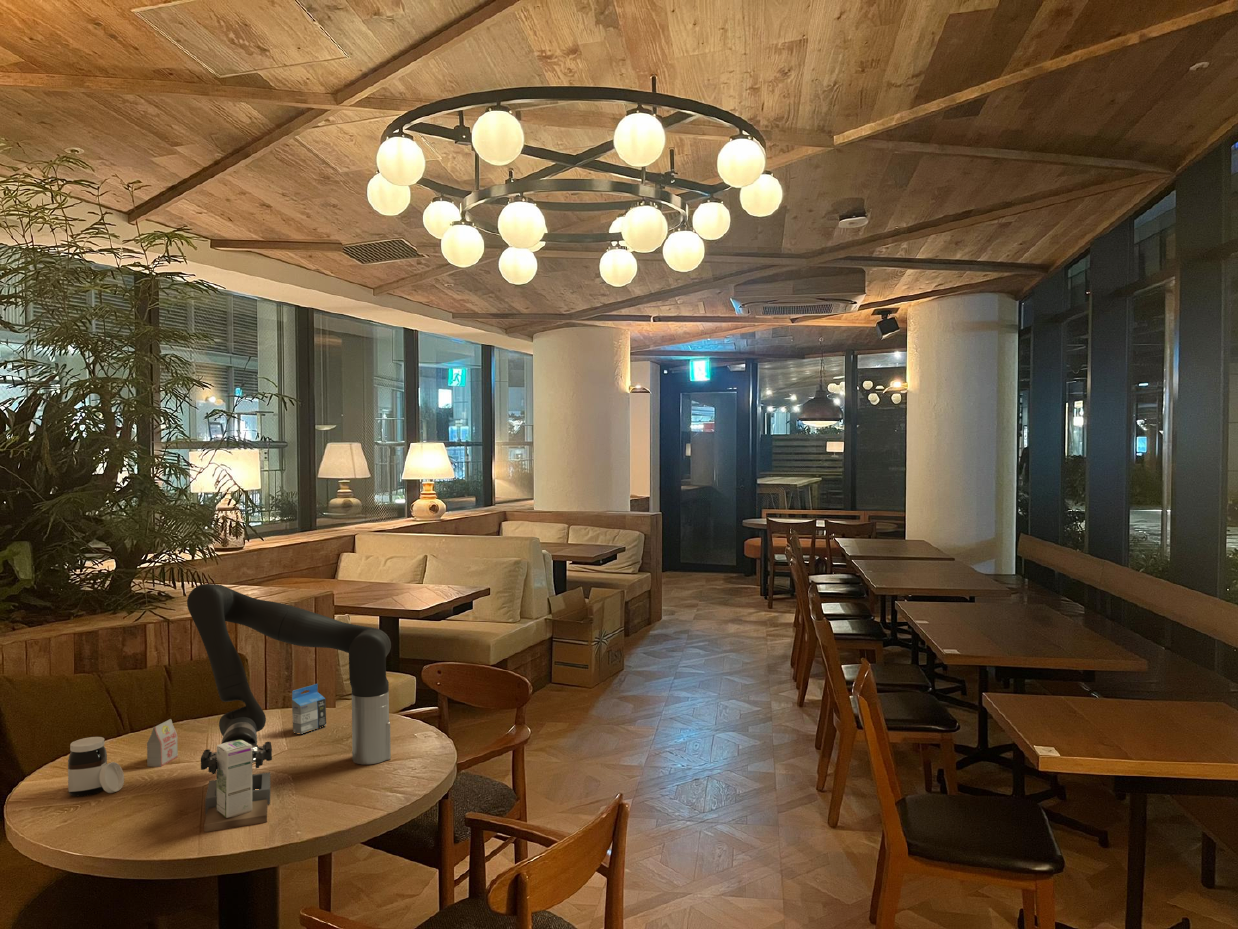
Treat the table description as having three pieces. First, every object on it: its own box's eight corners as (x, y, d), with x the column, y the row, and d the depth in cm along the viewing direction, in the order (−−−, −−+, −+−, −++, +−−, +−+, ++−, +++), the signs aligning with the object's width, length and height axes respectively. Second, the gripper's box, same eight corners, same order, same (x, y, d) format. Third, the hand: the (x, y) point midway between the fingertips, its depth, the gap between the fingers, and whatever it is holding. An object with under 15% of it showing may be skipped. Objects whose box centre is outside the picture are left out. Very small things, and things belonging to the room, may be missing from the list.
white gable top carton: (147, 766, 208) (146, 727, 208) (164, 757, 215) (163, 719, 215) (161, 766, 208) (160, 727, 208) (177, 757, 215) (177, 719, 215)
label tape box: (301, 736, 231) (300, 692, 231) (291, 733, 233) (291, 690, 233) (326, 727, 238) (326, 685, 238) (317, 724, 240) (317, 683, 240)
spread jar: (71, 786, 196) (71, 738, 196) (126, 777, 201) (125, 730, 201) (64, 805, 185) (63, 753, 185) (122, 795, 190) (121, 745, 190)
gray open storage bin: (270, 786, 194) (270, 772, 194) (269, 804, 184) (269, 789, 184) (209, 795, 189) (209, 780, 189) (205, 814, 179) (205, 798, 179)
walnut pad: (267, 805, 183) (267, 799, 183) (266, 822, 175) (266, 815, 175) (207, 815, 179) (207, 808, 179) (204, 832, 171) (204, 825, 171)
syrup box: (253, 811, 177) (254, 744, 177) (225, 819, 173) (226, 750, 173) (242, 803, 181) (243, 738, 181) (214, 811, 177) (215, 744, 177)
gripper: (205, 730, 187) (198, 754, 172) (272, 722, 193) (271, 744, 178) (205, 763, 187) (198, 789, 172) (272, 754, 193) (271, 779, 178)
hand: (235, 766), depth 175 cm, fingers open, 8 cm apart
